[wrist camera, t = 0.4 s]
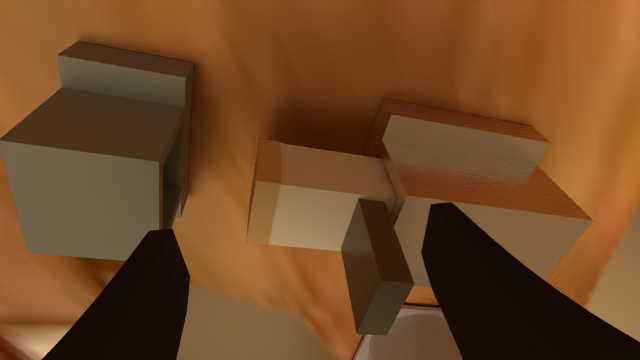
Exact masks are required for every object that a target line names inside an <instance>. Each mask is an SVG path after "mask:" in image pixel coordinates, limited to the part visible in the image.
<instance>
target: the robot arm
mask: <svg viewBox="0 0 640 360" xmlns="http://www.w3.org/2000/svg"><path fill="white" fill-rule="evenodd" d="M421 255H422V258H423V262H424V265H425V269H426V272H427V275H428V278H429V282H430V285H431V287H432V290H433V292H434V294H435V297H436V299H437V301H438V304H439V306H440V308H435V307H421V306H407V305H403V306H402V308H401V310H400V312H399V314H398V315H397V317H396V319H395V321H394V323H393V325H392V327H391V329H390V330H389V332H388V334H387V336H384V335H366V334H365V335H364V337H363V339H362V341H361V343H360V346H359V348H358V350H357V352H356V354H355V356H354V358H353V360H640V342H639V341H637V340H635V339H634V338H632V337H630V336H629V335H627V334H625V333H623V332H622V331H620V330H618V329H617V328H615V327H613V326H612V325H610V324H608V323H607V322H605V321H603V320H602V319H600V318H599V317H597V316H596V315H594V314H592V313H591V312H589V311H588V310H586V309H585V308H583V307H582V306H580V305H579V304H577V303H576V302H574V301H573V300H571V299H570V298H568V297H567V296H565V295H564V294H563V293H561V292H560V291H558V290H557V289H556V288H554V287H553V286H551V285H550V284H549V283H547V282H546V281H545V280H543V279H542V278H541V277H539V276H538V275H537V274H535V273H534V272H533V271H532V270H530V269H529V268H528V267H526V266H525V265H524V264H523V263H521V262H520V261H519V260H518V259H516V258H515V257H514V256H513V255H512V254H510V253H509V252H508V251H507V250H506V249H504V248H503V247H502V246H501V245H500V244H498V243H497V242H496V241H495V240H494V239H493V238H491V237H490V236H489V235H488V234H487V233H486V232H485V231H484V230H482V229H481V228H480V227H479V226H478V225H477V224H476V223H475V222H473V221H472V220H471V219H470V218H469V217H468V216H467V215H466V214H465V213H463V212H462V211H461V210H460V209H459V208H458V207H457V206H456V205H454V204H453V203H452V202H446V203H436V204H431V205H430V210H429V215H428V220H427V225H426V230H425V235H424V240H423V245H422V250H421ZM189 282H190V275H189V272H188V270H187V267H186V264H185V261H184V259H183V256H182V253H181V251H180V248H179V245H178V242H177V240H176V237H175V234H174V232H173V229H172V228H171V229H160V230H150V231H149V232H148V233H147V234H146V235H145V236H144V238H143V239H142V240H141V242H140V243H139V244H138V246H137V247H136V248H135V250H134V251H133V252H132V254H131V255H130V256H129V258H128V259H127V260H126V262H125V263H124V264H123V265H122V267H121V268H120V269H119V271H118V272H117V273H116V275H115V276H114V277H113V278H112V280H111V281H110V282H109V283H108V285H107V286H106V287H105V288H104V290H103V291H102V292H101V293H100V295H99V296H98V297H97V298H96V300H95V301H94V302H93V303H92V304H91V306H90V307H89V308H88V309H87V310H86V311H85V312H84V314H83V315H82V316H81V317H80V318H79V319H78V321H77V322H76V323H75V324H74V325H73V326H72V327H71V329H70V330H69V331H68V332H67V333H66V334H65V335H64V336H63V337H62V339H61V340H60V341H59V342H58V343H57V344H56V345H55V346H54V347H53V348H52V349H51V350H50V351H49V352H48V353H47V354H46V356H45V357H44V358H43V359H42V360H176V358H177V354H178V349H179V345H180V340H181V336H182V331H183V327H184V322H185V317H186V313H187V304H188V294H189Z"/></svg>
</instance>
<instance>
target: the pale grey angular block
mask: <svg viewBox="0 0 640 360" xmlns="http://www.w3.org/2000/svg"><path fill="white" fill-rule="evenodd" d="M398 199H399V197H398V195H397V192H396V190H395V188H394V185H393V183H392V181H391V178H390V176H389V173H388V171H387V169H386V166H385V164H384V161H383V159H381V158H374V157H368V156H361V155H354V154H348V153H341V152H335V151H328V150H322V149H315V148H309V147H302V146H296V145H289V144H283V143H280V142H279V141H272V140H266V139H259V145H258V151H257V157H256V164H255V170H254V177H253V183H252V189H251V196H250V205H249V216H248V226H247V237H246V244H256V245H266V246H268V244H272V245H282V246H292V247H302V248H312V249H322V250H332V251H341V252H342V257H343V262H344V268H345V273H346V279H347V284H348V289H349V295H350V300H351V305H352V311H353V316H354V322H355V327H356V332H357V334H366V335H384V336H387V334H388V332H389V330H390V329H391V327H392V325H393V323H394V321H395V319H396V317H397V315H398V314H399V312H400V310H401V308H402V306H403V304H404V302H405V300H406V299H407V297H408V295H409V293H410V291H411V289H412V287H413V285H414V284H415V283H414V281H413V278H412V275H411V272H410V270H409V267H408V264H407V261H406V259H405V256H404V253H403V250H402V248H401V245H400V242H399V239H398V237H397V234H396V231H395V229H394V226H393V223H392V220H391V215H392V213H393V211H394V208H395V206H396V204H397V201H398Z"/></svg>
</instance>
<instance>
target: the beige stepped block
mask: <svg viewBox="0 0 640 360" xmlns="http://www.w3.org/2000/svg"><path fill="white" fill-rule="evenodd" d="M550 144H551V142H549V141H548V140H547V139H546V138H545V137H544V136H542V135H541V134H540V133H539V132H538V131H537V130H535V129H534V128H533V127H532V126H530V125H525V124H519V123H514V122H509V121H503V120H498V119H493V118H487V117H482V116H476V115H471V114H466V113H460V112H455V111H450V110H444V109H439V108H433V107H428V106H423V105H417V104H412V103H407V102H401V101H396V100H391V99H385V98H382V100H381V103H380V106H379V109H378V112H377V115H376V118H375V121H374V124H373V127H372V130H371V133H370V136H369V139H368V142H367V145H366V148H365V151H364V154H363V156H368V157H374V158H381V159H383V161H384V164H385V166H386V169H387V171H388V173H389V176H390V178H391V181H392V183H393V185H394V188H395V190H396V192H397V195H398V197H399V199H398V201H397V204H396V206H395V208H394V211H393V213H392V215H391V220H392V223H393V226H394V229H395V231H396V234H397V237H398V239H399V242H400V245H401V248H402V250H403V253H404V256H405V259H406V261H407V264H408V267H409V270H410V272H411V275H412V278H413V281H414V283H415V284H414V285H415V286H427V287H431V285H430V282H429V278H428V275H427V272H426V269H425V265H424V262H423V258H422V255H421V250H422V245H423V240H424V235H425V230H426V225H427V220H428V215H429V210H430V205H431V204H436V203H446V202H452V203H453V204H454V205H456V206H457V207H458V208H459V209H460V210H461V211H462V212H463V213H465V214H466V215H467V216H468V217H469V218H470V219H471V220H472V221H473V222H475V223H476V224H477V225H478V226H479V227H480V228H481V229H482V230H484V231H485V232H486V233H487V234H488V235H489V236H490V237H491V238H493V239H494V240H495V241H496V242H497V243H498V244H500V245H501V246H502V247H503V248H504V249H506V250H507V251H508V252H509V253H510V254H512V255H513V256H514V257H515V258H516V259H518V260H519V261H520V262H521V263H523V264H524V265H525V266H526V267H528V268H529V269H530V270H532V271H533V272H534V273H535V274H537V275H538V276H539V277H541V278H542V279H543V280H546V279H547V277H548V276H549V275H550V274H551V272H552V271H553V270H554V269H555V267H556V266H557V265H558V264H559V262H560V261H561V260H562V259H563V257H564V256H565V255H566V254H567V253H568V251H569V250H570V249H571V248H572V246H573V245H574V244H575V243H576V241H577V240H578V239H579V238H580V236H581V235H582V234H583V233H584V231H585V230H586V229H587V228H588V226H589V225H590V224H591V223H592V221H593V220H592V219H591V218H590V217H589V216H588V215H587V214H586V213H585V212H584V211H583V210H582V209H581V208H580V207H579V206H578V205H577V204H576V203H575V202H574V201H573V200H572V199H571V198H570V197H569V196H568V195H567V194H566V193H565V192H564V191H563V190H562V189H561V188H560V187H559V186H558V185H557V184H556V183H555V182H554V181H553V180H552V179H551V178H550V177H549V176H548V175H547V174H546V173H545V172H544V171H543V170H542V169H541V168H540V167H539V166H538V163H539V161H540V160H541V158H542V157H543V155H544V154H545V152H546V150H547V149H548V147H549V146H550Z"/></svg>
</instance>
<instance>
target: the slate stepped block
mask: <svg viewBox="0 0 640 360" xmlns="http://www.w3.org/2000/svg"><path fill="white" fill-rule="evenodd" d="M57 57H58V64H59V71H60V78H61V84H62V88H61V89H60V90H58V91H57V92H56V93H55V94H54V95H52V96H51V97H50V98H49V99H47V100H46V101H45V102H44V103H43V104H41V105H40V106H39V107H38V108H37V109H35V110H34V111H33V112H32V113H31V114H29V115H28V116H27V117H26V118H24V119H23V120H22V121H21V122H20V123H18V124H17V125H16V126H15V127H14V128H12V129H11V130H10V131H9V132H8V133H6V134H5V135H4V136H3V137H1V138H0V149H1V153H2V157H3V161H4V164H5V168H6V172H7V176H8V179H9V183H10V187H11V191H12V194H13V198H14V202H15V206H16V209H17V213H18V217H19V221H20V225H21V228H22V232H23V236H24V240H25V243H26V247H27V251H28V253H39V254H50V255H62V256H74V257H86V258H98V259H109V260H121V261H126V260H127V259H128V258H129V256H130V255H131V254H132V252H133V251H134V250H135V248H136V247H137V246H138V244H139V243H140V242H141V240H142V239H143V238H144V236H145V235H146V234H147V233H148V232H149V231H150V230H160V229H171V227H172V224H173V221H174V218H181V216H182V212H183V209H184V206H185V203H186V200H187V196H188V177H189V155H190V133H191V111H192V89H193V67H194V63H192V62H186V61H181V60H176V59H170V58H165V57H160V56H154V55H149V54H143V53H138V52H133V51H127V50H122V49H117V48H111V47H106V46H100V45H95V44H90V43H84V42H79V41H78V42H76V43H75V44H73V45H72V46H70V47H69V48H67V49H66V50H64V51H63V52H61V53H59V54H58V55H57Z"/></svg>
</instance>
